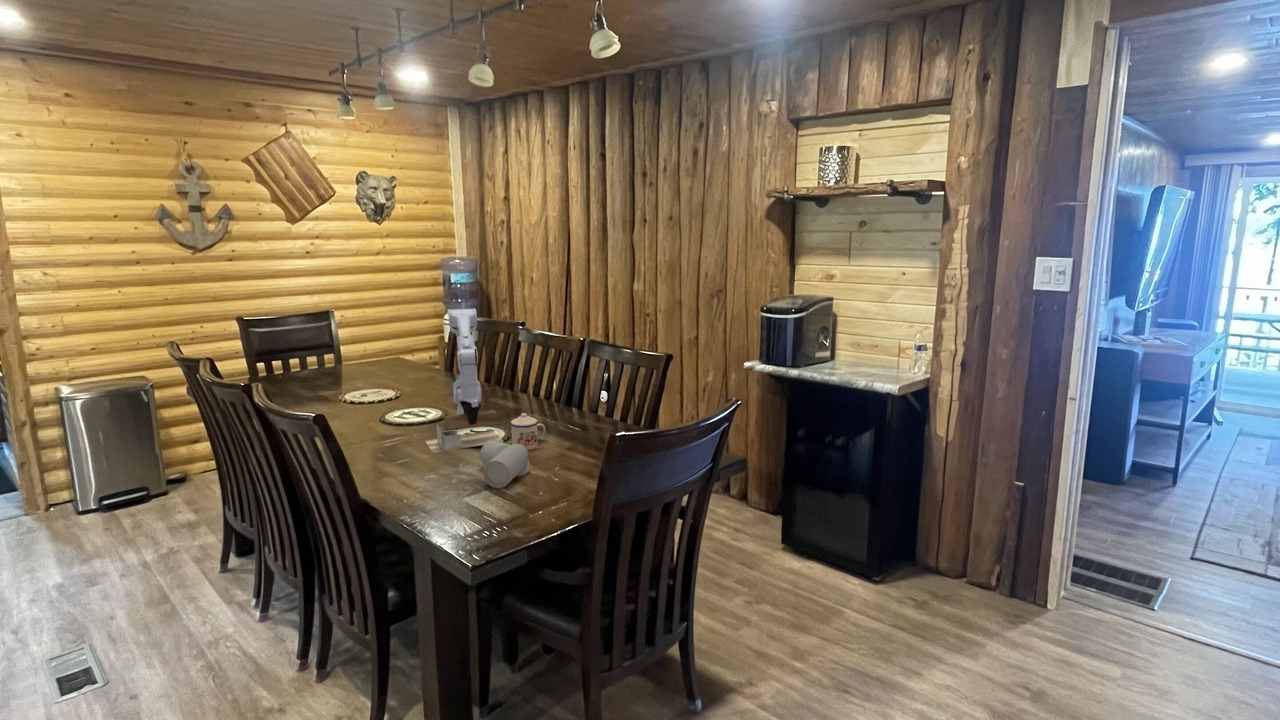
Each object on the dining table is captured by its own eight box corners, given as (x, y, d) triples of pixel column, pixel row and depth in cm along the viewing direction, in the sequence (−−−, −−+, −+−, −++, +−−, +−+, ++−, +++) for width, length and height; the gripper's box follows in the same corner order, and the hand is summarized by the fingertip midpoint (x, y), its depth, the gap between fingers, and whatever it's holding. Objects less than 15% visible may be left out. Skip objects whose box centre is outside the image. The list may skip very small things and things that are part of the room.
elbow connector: (548, 471, 211) (507, 456, 224) (541, 440, 207) (500, 427, 220) (503, 500, 199) (462, 483, 212) (494, 468, 195) (454, 453, 208)
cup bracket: (437, 444, 236) (436, 424, 235) (456, 441, 239) (455, 421, 238) (442, 451, 229) (441, 430, 228) (461, 448, 232) (460, 428, 231)
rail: (445, 427, 234) (444, 416, 233) (494, 420, 242) (494, 409, 241) (447, 430, 231) (446, 419, 230) (497, 423, 239) (496, 412, 238)
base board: (425, 443, 241) (424, 440, 240) (493, 433, 251) (493, 430, 251) (433, 455, 228) (432, 452, 228) (504, 444, 239) (504, 441, 239)
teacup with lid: (517, 452, 231) (515, 419, 228) (507, 445, 238) (506, 412, 236) (550, 446, 236) (549, 413, 234) (540, 439, 244) (539, 407, 242)
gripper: (452, 380, 238) (454, 418, 241) (462, 389, 225) (464, 429, 228) (472, 378, 241) (474, 415, 244) (483, 387, 229) (485, 426, 231)
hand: (471, 422), depth 236 cm, fingers closed on rail, 3 cm apart
